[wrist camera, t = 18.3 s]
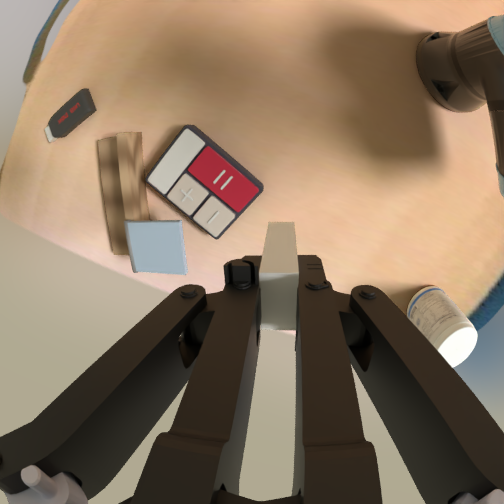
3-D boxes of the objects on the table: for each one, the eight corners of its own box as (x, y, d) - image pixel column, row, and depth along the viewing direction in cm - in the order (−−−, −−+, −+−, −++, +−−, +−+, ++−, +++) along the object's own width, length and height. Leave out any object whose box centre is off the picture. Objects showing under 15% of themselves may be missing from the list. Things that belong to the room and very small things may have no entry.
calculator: (216, 242, 43) (141, 181, 40) (220, 232, 47) (151, 176, 44) (264, 190, 40) (185, 123, 36) (264, 184, 44) (192, 123, 40)
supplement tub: (448, 306, 48) (481, 349, 35) (413, 331, 51) (439, 379, 37) (436, 274, 46) (475, 316, 32) (398, 301, 48) (428, 350, 35)
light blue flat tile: (126, 219, 40) (122, 221, 39) (181, 218, 39) (178, 221, 38) (135, 269, 43) (131, 272, 42) (188, 272, 42) (185, 276, 41)
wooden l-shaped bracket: (102, 139, 41) (84, 141, 36) (141, 132, 41) (124, 132, 35) (117, 251, 49) (102, 263, 44) (154, 251, 48) (141, 264, 43)
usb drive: (98, 110, 40) (89, 110, 37) (57, 145, 42) (48, 146, 40) (89, 88, 38) (80, 87, 35) (49, 124, 41) (40, 125, 38)
